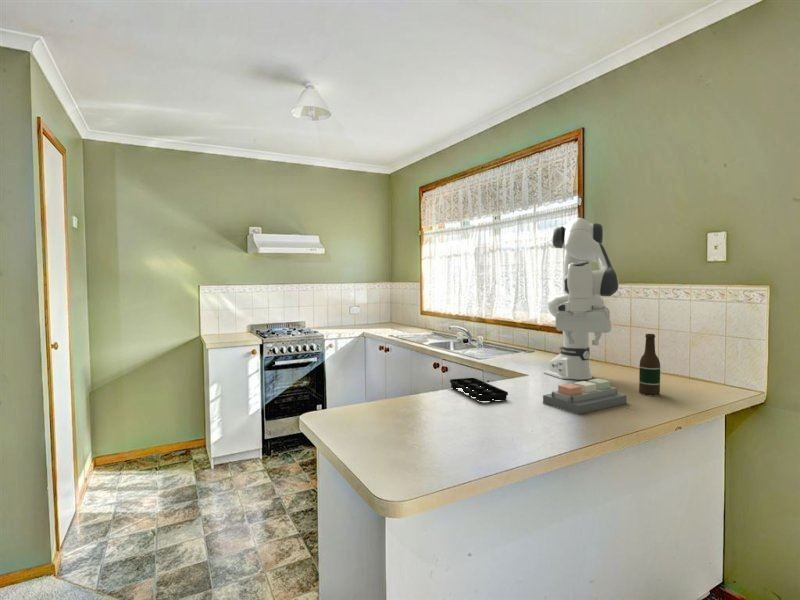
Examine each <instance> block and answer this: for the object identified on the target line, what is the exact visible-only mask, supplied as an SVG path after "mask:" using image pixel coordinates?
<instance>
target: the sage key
mask: <svg viewBox="0 0 800 600" xmlns="http://www.w3.org/2000/svg"><path fill="white" fill-rule="evenodd" d="M587 382H590V383H595V384H596V389H598V390H604V389H609V388H610V387H611V380H606V379H601V378H593V379H592V378H591V379H587Z"/></svg>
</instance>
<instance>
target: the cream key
mask: <svg viewBox="0 0 800 600" xmlns="http://www.w3.org/2000/svg"><path fill="white" fill-rule="evenodd" d="M573 385H577V386H581V392H584V393H589V392H594V391H596V384H595V383H590V382H588V381H585V380H580V381H576V382H573Z"/></svg>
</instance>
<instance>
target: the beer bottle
mask: <svg viewBox="0 0 800 600" xmlns="http://www.w3.org/2000/svg"><path fill="white" fill-rule="evenodd" d="M644 335H645V347H644V353H643V355H641V356H640V359H639V373H638V374H639V377H638V378H639V379H638V380H639V381H638V382H639V384H638V388H639V389H638V390H639V394H640V393H641V395H643V394H644V395H643V396H647V395H652V396H651V397H655V396H654V395H659V396H660V393H661V362H660V359H659V357H658V355H657V354H656V342H655V338H656V334H654V333H645V334H644Z"/></svg>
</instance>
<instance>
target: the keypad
mask: <svg viewBox="0 0 800 600" xmlns="http://www.w3.org/2000/svg"><path fill="white" fill-rule="evenodd" d="M627 397H628V396H627V394H623V393H619V392H618V388H616V387H613V386H610V388H609V389H604V390H598V389H596V391H594V392H589V393H584V392H581V394H578V395H573V396H569V395H565V394H562V393H558V390H553V391H551V393H548V394H543V395H542V403H543V404H544V403H546V404H545V405H548V404H549V405H548V406H551V405H552V407H554V406H555V407H554V408H557V407H558V409H560V408H561V409H560V410H563V409H564V411H566V410H567V412H570V413H573V414H577V415H581V414H586V413H591V412H593V411H599V410H603V409H608V408H612V407H611V406H613V407H616V406H615V405H617V406H621V405H625V404H624V403H626V404H627V403H628V401H627V400H628V399H627ZM620 404H621V405H620ZM607 407H608V408H607Z"/></svg>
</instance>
